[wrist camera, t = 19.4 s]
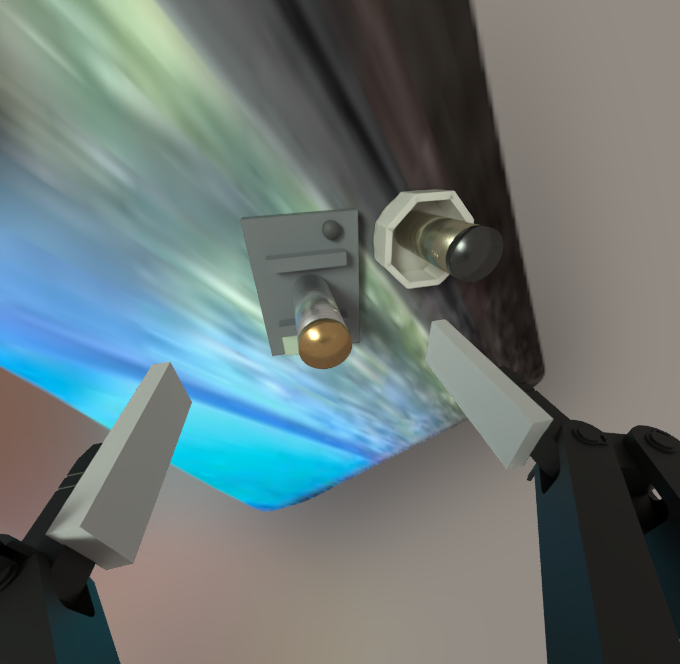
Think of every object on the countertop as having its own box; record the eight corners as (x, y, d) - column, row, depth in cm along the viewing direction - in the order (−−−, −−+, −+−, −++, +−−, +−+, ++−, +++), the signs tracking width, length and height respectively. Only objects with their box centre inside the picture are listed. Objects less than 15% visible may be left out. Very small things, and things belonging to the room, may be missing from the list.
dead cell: (391, 218, 24) (449, 240, 16) (426, 204, 24) (503, 218, 16) (398, 254, 26) (454, 290, 18) (431, 241, 26) (502, 270, 18)
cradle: (242, 217, 22) (237, 222, 20) (353, 208, 24) (362, 212, 21) (272, 348, 30) (272, 364, 27) (356, 335, 31) (363, 349, 29)
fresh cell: (296, 310, 26) (303, 373, 18) (289, 277, 24) (293, 329, 16) (330, 304, 27) (353, 363, 18) (326, 271, 25) (350, 319, 16)
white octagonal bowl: (373, 193, 24) (387, 195, 20) (455, 187, 25) (480, 188, 22) (372, 279, 28) (383, 291, 25) (442, 270, 29) (461, 281, 26)
